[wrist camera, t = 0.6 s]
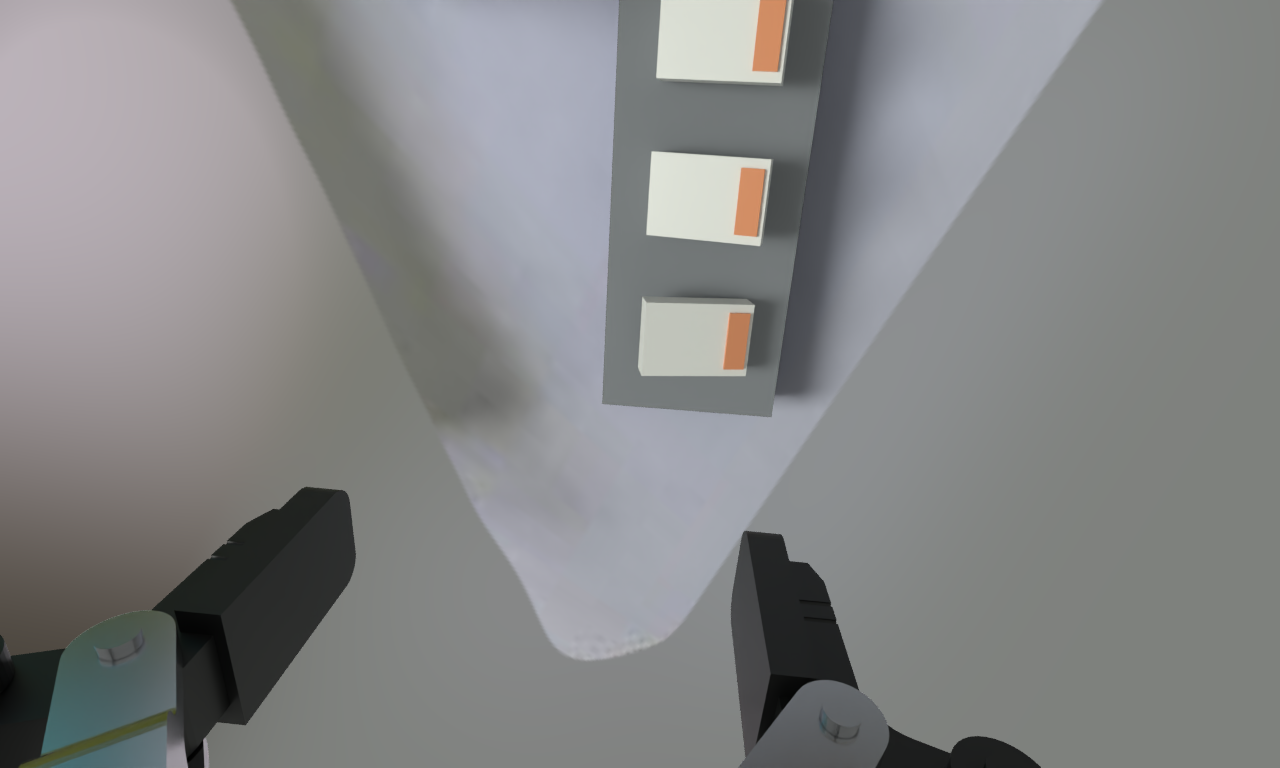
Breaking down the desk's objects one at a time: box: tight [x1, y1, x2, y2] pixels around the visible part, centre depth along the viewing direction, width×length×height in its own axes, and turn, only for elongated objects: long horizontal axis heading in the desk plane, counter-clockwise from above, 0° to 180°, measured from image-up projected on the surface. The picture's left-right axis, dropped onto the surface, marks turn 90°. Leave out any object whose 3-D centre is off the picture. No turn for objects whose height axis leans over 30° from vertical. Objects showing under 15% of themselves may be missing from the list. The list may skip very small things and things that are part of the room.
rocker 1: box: [656, 0, 794, 86], centre depth 26 cm, size 4×5×2 cm
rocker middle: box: [646, 151, 773, 246], centre depth 28 cm, size 4×5×2 cm
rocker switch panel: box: [602, 0, 833, 417], centre depth 30 cm, size 25×9×3 cm, turn 177°
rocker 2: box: [638, 296, 755, 376], centre depth 31 cm, size 4×5×2 cm
